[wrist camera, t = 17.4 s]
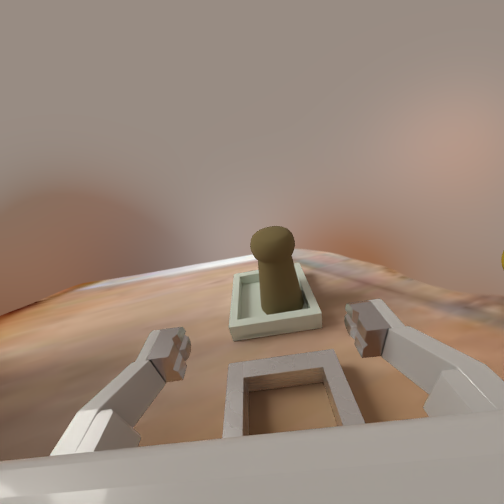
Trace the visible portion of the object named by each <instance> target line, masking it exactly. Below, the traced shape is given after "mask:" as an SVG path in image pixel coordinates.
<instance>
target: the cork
mask: <svg viewBox="0 0 504 504" xmlns="http://www.w3.org/2000/svg"><path fill="white" fill-rule="evenodd" d="M250 245H251V246H250V247H251V251H252V253H253V255H254V257H255V258H256V259H257V260H258V268H259V283H260V299H261V307H262V310H263V311H264V312H265V313H266V314H267V315H270V314H277V313H283V312H289V311H295V310H301V309H302V308H303V305H304V300H303V296H302V292H301V288H300V285H299V281H298V277H297V274H296V270H295V267H294V263H293V259H292V256H291V255H292V253H293V251H294V247H295V241H294V237H293V235H292V233H291V232H290V231H289V230H288V229H287V228H284V227H280V226H272V227H267V228H263V229H261V230H259V231H257V232H256V233H255V234H254V235H253V236H252V239H251V244H250Z"/></svg>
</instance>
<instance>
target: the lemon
mask: <svg viewBox="0 0 504 504" xmlns="http://www.w3.org/2000/svg"><path fill="white" fill-rule="evenodd" d="M502 267H503V269H504V252H503V254H502Z"/></svg>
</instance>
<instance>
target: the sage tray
mask: <svg viewBox="0 0 504 504" xmlns="http://www.w3.org/2000/svg"><path fill="white" fill-rule="evenodd" d="M294 267H295V270H296V274H297V277H298V281H299V285H300V288H301V292H302V296H303V300H304V305H303V308H302V309H301V310H295V311H289V312H283V313H277V314H270V315H267V314H266V313H265V312H264V311H263V310H262V307H261V299H260V283H259V270H255V271H249V272H244V273H238V274H234V280H233V290H232V300H231V309H230V319H229V330H230V333H231V335H232V338H233V341H238V340H245V339H251V338H258V337H265V336H271V335H278V334H284V333H291V332H298V331H304V330H311V329H318V328H322V312H321V310H320V308H319V306H318V303H317V301H316V299H315V297H314V295H313V292H312V290H311V288H310V286H309V284H308V281H307V279H306V277H305V275H304V272H303V270H302V268H301V266H300V264H299V263H294Z"/></svg>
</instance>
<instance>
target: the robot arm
mask: <svg viewBox="0 0 504 504" xmlns="http://www.w3.org/2000/svg"><path fill="white" fill-rule="evenodd" d="M345 310H346V311H347V314H346V315H345V320H344V321H345V326H346V329H347V331H348V333H349V335H350V336H351V337H352V338H354V339H355V346H356V348H357V350H358V352H359V354H360V355H361V357H362V358H366V357H376V356H382V358H384V359H385V360H386V361H387V362H389V363H390V364H391V365H392V366H394V367H395V368H396V369H397V370H399V371H400V372H401V373H403V374H404V375H405V376H406V377H408V378H409V379H410V380H411V381H413V382H414V383H415V384H417V385H418V386H419V387H420V388H422V389H423V390H424V391H425V392H427V393H428V394H429V396H428V398H427V400H426V402H425V404H424V407H423V408H424V410H425V411H426V413H427V414H428V416H429V417H425V418H415V419H406V420H396V421H386V422H376V423H366V424H357V425H347V426H337V427H327V428H318V429H308V430H298V431H288V432H279V433H269V434H259V435H249V436H240V437H230V438H220V439H211V440H201V441H191V442H181V443H172V444H162V445H152V446H142V447H138V445H139V442H140V439H141V436H140V434H139V433H138V432H137V431H136V430H134V429H133V427H134V426H135V424H136V423H137V422H138V420H139V419H140V418H141V416H142V415H143V414H144V412H145V411H146V410H147V408H148V407H149V406H150V404H151V403H152V402H153V400H154V399H155V398H156V396H157V395H158V394H159V392H160V391H161V390H162V388H163V387H164V386H165V384H166V382H173V381H179V380H183V378H184V374H185V371H186V367H187V365H186V362H185V361H186V360H187V359H188V358H189V356H190V352H191V342H190V339H189V337H187V336H185V332H186V331H185V330H184V328H183V327H178V328H169V329H161V330H153V331H152V332H151V333H150V334H149V336H148V338H147V340H146V342H145V344H144V346H143V348H142V350H141V352H140V354H139V355H138V357H137V359H136V361H135V362H132V363H131V364H130V365H129V366H128V367H126V368H125V369H124V370H123V371H122V372H121V373H120V374H119V375H118V376H117V377H115V378H114V379H113V380H112V381H111V382H110V383H109V384H108V385H107V386H105V387H104V388H103V389H102V390H101V391H100V392H99V393H98V394H97V395H96V396H94V397H93V398H92V399H91V400H90V401H89V402H88V403H87V404H86V405H84V406H83V407H82V408H81V409H80V410H79V411H78V412H77V413H76V415H75V417H74V418H73V420H72V421H71V423H70V424H69V426H68V428H67V429H66V431H65V432H64V434H63V435H62V437H61V439H60V440H59V442H58V443H57V445H56V446H55V448H54V449H53V451H52V453H51V454H50V456H45V457H35V458H26V459H16V460H6V461H0V504H504V381H503V380H502V379H501V378H500V377H499V376H498V375H496V374H495V373H494V372H493V371H492V370H491V369H490V368H489V367H488V366H487V365H485V364H483V363H481V362H479V361H477V360H475V359H473V358H472V357H470V356H468V355H466V354H464V353H462V352H460V351H458V350H456V349H454V348H452V347H450V346H448V345H446V344H444V343H442V342H440V341H438V340H436V339H434V338H432V337H430V336H428V335H426V334H424V333H422V332H420V331H418V330H416V329H414V328H412V327H410V326H405V325H404V324H403V323H402V322H401V321H400V320H399V318H398V317H397V316H396V315H395V314H394V313H393V312H392V311H391V309H390V308H389V307H388V306H387V305H386V304H385V303H384V302H383V301H382V300H381V299H374V300H368V301H367V300H366V301H360V302H353V303H347V304H346V307H345Z"/></svg>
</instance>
